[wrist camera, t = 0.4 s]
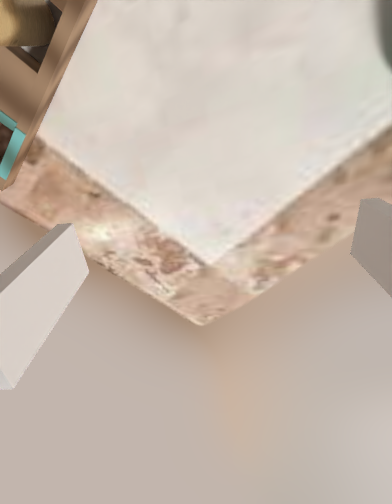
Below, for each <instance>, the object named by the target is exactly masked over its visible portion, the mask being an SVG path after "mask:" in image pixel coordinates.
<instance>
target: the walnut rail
mask: <svg viewBox="0 0 392 504" xmlns="http://www.w3.org/2000/svg"><path fill="white" fill-rule="evenodd" d="M50 1H51V2H52V3H53V4H54V5H55V6H56V7H57V8H58V9H59V10H61V11H62V12H63V13H62V15H61V18H60V20H59V22H58V25H57V27H56V30H55V32H54V35H53V37H52V40H51V42H50V45H49V47H48V49H47V52H46V54H45V57H44V59H43V62H42V64H40V63H39V62H38V61H36V60H35V59H34V58H33V57H32V56H30V55H29V54H28V53H27V52H26V51H24V50H23V49H22V48H21V47H20V46H0V122H1V123H2V124H4V125H5V126H6V127H8V128H9V129H11V130H12V131H14V132H13V135H12V137H11V140H10V142H9V145H8V147H7V149H6V152H5V154H4V157H3V158H2V157H0V190H1V191H3V190H4V189H6V188H7V187H9V186H11V185H12V184H13V183H14V181H15V179H16V177H17V175H18V172H19V170H20V168H21V166H22V164H23V161H24V159H25V157H26V155H27V153H28V151H29V148H30V146H31V144H32V142H33V140H34V138H35V135H36V133H37V131H38V129H39V127H40V124H41V122H42V120H43V118H44V116H45V114H46V111H47V109H48V107H49V105H50V103H51V101H52V98H53V96H54V94H55V92H56V90H57V87H58V85H59V83H60V81H61V79H62V77H63V74H64V72H65V70H66V68H67V66H68V64H69V61H70V59H71V57H72V55H73V53H74V51H75V48H76V46H77V44H78V42H79V40H80V37H81V35H82V33H83V31H84V29H85V27H86V24H87V22H88V20H89V18H90V16H91V14H92V11H93V9H94V7H95V5H96V3H97V0H50Z"/></svg>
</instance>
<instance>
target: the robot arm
mask: <svg viewBox="0 0 392 504" xmlns="http://www.w3.org/2000/svg"><path fill="white" fill-rule="evenodd" d="M350 254H351V255H352V256H353V257H354V258H355V259H356V260H357V261H358V262H359V263H360V264H361V265H362V267H363V268H364V269H365V270H366V271H367V272H368V273H369V274H370V275H371V276H372V277H373V278H374V279H375V280H376V281H377V282H378V283H379V284H380V286H381V287H382V288H383V289H384V290H385V291H386V292H387V293H388V294H389V295H390V296H391V297H392V205H391V204H389V203H387V202H385V201H384V200H382V199H380V198H371V199H361V202H360V207H359V212H358V217H357V222H356V227H355V232H354V238H353V243H352V248H351V253H350ZM88 273H89V270H88V267H87V264H86V261H85V258H84V255H83V252H82V249H81V246H80V243H79V240H78V237H77V234H76V230H75V227H74V224H73V223H69V224H57V225H56V226H55V227H54V228H53V229H52V230H50V231H49V232H48V233H47V234H46V235H45V236H44V237H42V238H41V239H40V240H39V241H38V242H37V243H36V244H35V245H33V246H32V247H31V248H30V249H29V250H28V251H26V252H25V253H24V254H23V255H22V256H21V257H19V258H18V259H17V260H16V261H15V262H14V263H13V264H11V265H10V266H9V267H8V268H7V269H6V270H5V271H4V272H2V273H1V274H0V390H2V389H14V387H15V386H16V384H17V383H18V381H19V379H20V378H21V376H22V375H23V373H24V372H25V370H26V369H27V367H28V366H29V364H30V363H31V361H32V359H33V358H34V356H35V355H36V353H37V351H38V350H39V349H40V347H41V346H42V344H43V343H44V341H45V339H46V338H47V336H48V335H49V333H50V332H51V330H52V329H53V327H54V326H55V324H56V323H57V321H58V320H59V318H60V316H61V315H62V313H63V312H64V310H65V309H66V307H67V306H68V304H69V303H70V301H71V300H72V298H73V297H74V295H75V293H76V292H77V290H78V289H79V287H80V286H81V284H82V283H83V281H84V280H85V278H86V277H87V275H88Z"/></svg>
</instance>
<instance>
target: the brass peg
mask: <svg viewBox="0 0 392 504" xmlns="http://www.w3.org/2000/svg"><path fill="white" fill-rule="evenodd" d="M54 30H55V26H54V19H53V16H52V13H51V11H50V9H49V7H48V5H47V4H46V2H45V1H44V0H0V46H45V45H47V44H48V43H49V42H50V41H51V40H52V37H53V35H54Z"/></svg>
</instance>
